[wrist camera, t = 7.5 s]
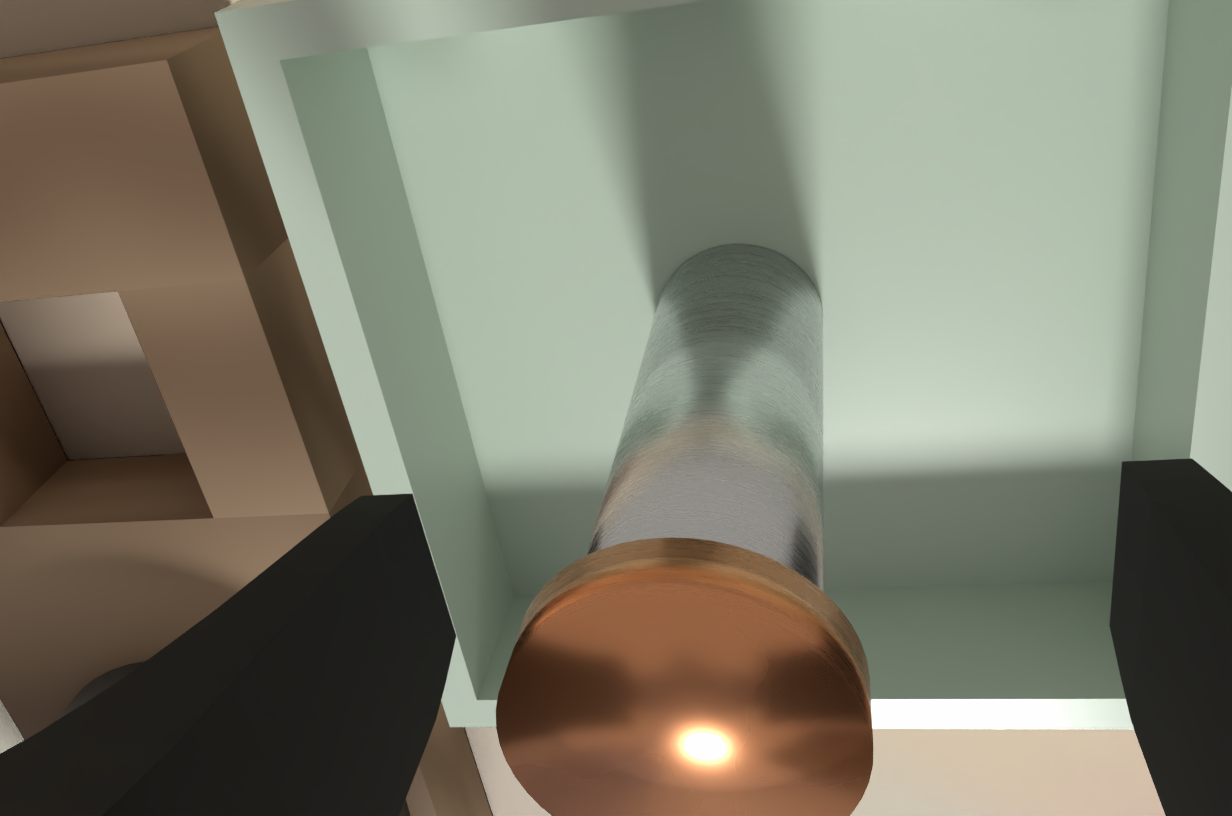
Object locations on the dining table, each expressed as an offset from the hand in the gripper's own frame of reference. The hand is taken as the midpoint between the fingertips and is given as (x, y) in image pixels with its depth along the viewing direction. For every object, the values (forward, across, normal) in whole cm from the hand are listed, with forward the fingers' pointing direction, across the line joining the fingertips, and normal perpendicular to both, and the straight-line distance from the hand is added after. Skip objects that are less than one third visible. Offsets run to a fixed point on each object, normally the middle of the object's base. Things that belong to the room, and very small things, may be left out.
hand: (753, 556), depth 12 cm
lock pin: (+5, 0, 0) cm, 5 cm away
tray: (+6, 0, 0) cm, 6 cm away
